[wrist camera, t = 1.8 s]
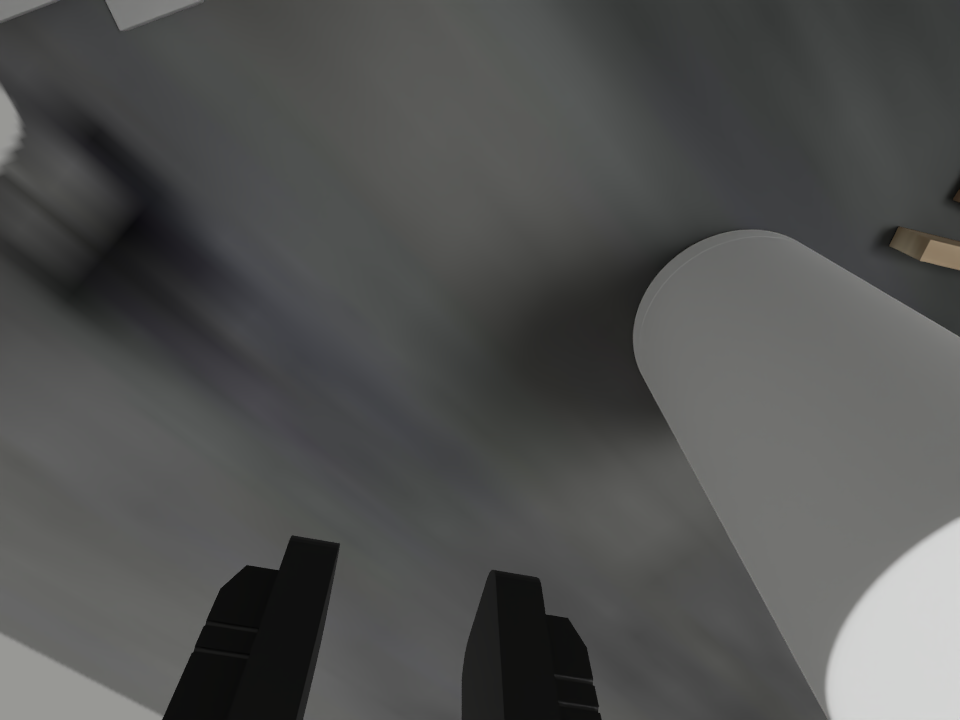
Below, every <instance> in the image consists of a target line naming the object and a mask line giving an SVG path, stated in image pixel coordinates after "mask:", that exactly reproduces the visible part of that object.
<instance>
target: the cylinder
mask: <svg viewBox="0 0 960 720" xmlns="http://www.w3.org/2000/svg"><path fill="white" fill-rule="evenodd" d="M633 348H634V355H635V359H636V363H637V366H638V368H639V371H640V373H641V375H642V377H643V379H644V380H645V382H646V384H647V386H648V388H649V390H650V392H651V393H652V395H653V397H654V399H655V401H656V403H657V405H658V406H659V408H660V410H661V412H662V414H663V416H664V418H665V419H666V421H667V423H668V425H669V427H670V429H671V430H672V432H673V434H674V436H675V438H676V440H677V442H678V443H679V445H680V447H681V449H682V451H683V453H684V455H685V456H686V458H687V460H688V462H689V464H690V466H691V468H692V469H693V471H694V473H695V475H696V477H697V479H698V480H699V482H700V484H701V486H702V488H703V490H704V492H705V493H706V495H707V497H708V499H709V501H710V503H711V505H712V506H713V508H714V510H715V512H716V514H717V516H718V518H719V519H720V521H721V523H722V525H723V527H724V529H725V530H726V532H727V534H728V536H729V538H730V540H731V542H732V543H733V545H734V547H735V549H736V551H737V553H738V555H739V556H740V558H741V560H742V562H743V564H744V566H745V568H746V569H747V571H748V573H749V575H750V577H751V579H752V581H753V582H754V584H755V586H756V588H757V590H758V592H759V593H760V595H761V597H762V599H763V601H764V603H765V605H766V606H767V608H768V610H769V612H770V614H771V616H772V618H773V619H774V621H775V623H776V625H777V627H778V629H779V631H780V632H781V634H782V636H783V638H784V640H785V642H786V643H787V645H788V647H789V649H790V651H791V653H792V655H793V656H794V658H795V660H796V662H797V664H798V666H799V668H800V669H801V671H802V673H803V675H804V677H805V679H806V681H807V682H808V684H809V686H810V688H811V690H812V692H813V693H814V695H815V697H816V699H817V701H818V702H819V704H820V706H821V708H822V710H823V712H824V713H825V715H826V717H827V719H828V720H960V337H959V336H957V335H955V334H954V333H952V332H950V331H949V330H947V329H945V328H944V327H942V326H940V325H938V324H937V323H935V322H933V321H932V320H930V319H928V318H927V317H925V316H923V315H922V314H920V313H918V312H916V311H915V310H913V309H911V308H910V307H908V306H906V305H905V304H903V303H901V302H900V301H898V300H896V299H894V298H893V297H891V296H889V295H888V294H886V293H884V292H883V291H881V290H879V289H878V288H876V287H874V286H872V285H871V284H869V283H867V282H866V281H864V280H862V279H861V278H859V277H857V276H856V275H854V274H852V273H850V272H849V271H847V270H845V269H844V268H842V267H840V266H839V265H837V264H835V263H834V262H832V261H830V260H828V259H827V258H825V257H823V256H822V255H820V254H818V253H817V252H815V251H813V250H811V249H810V248H808V247H806V246H805V245H803V244H801V243H800V242H798V241H796V240H794V239H792V238H790V237H788V236H785V235H782V234H779V233H776V232H771V231H765V230H753V229H749V230H736V231H730V232H725V233H721V234H717V235H714V236H712V237H709V238H706V239H704V240H702V241H700V242H698V243H696V244H694V245H692V246H690V247H689V248H687V249H685V250H684V251H683V252H681V253H680V254H678V255H677V256H676V257H675V258H673V259H672V260H671V261H670V262H669V263H668V264H667V265H666V266H665V267H664V268H663V269H662V270H661V271H660V272H659V273H658V274H657V276H656V277H655V278H654V279H653V281H652V282H651V284H650V285H649V287H648V289H647V290H646V292H645V294H644V296H643V298H642V300H641V302H640V305H639V307H638V310H637V314H636V317H635V322H634V328H633Z"/></svg>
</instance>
